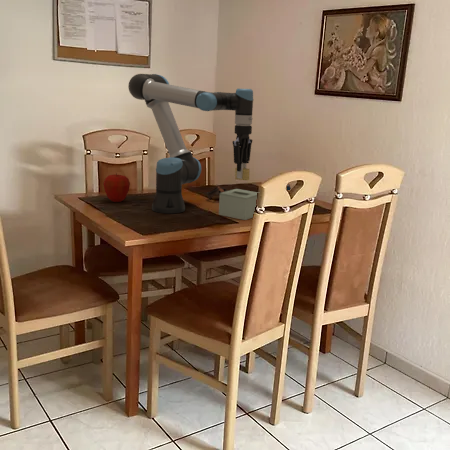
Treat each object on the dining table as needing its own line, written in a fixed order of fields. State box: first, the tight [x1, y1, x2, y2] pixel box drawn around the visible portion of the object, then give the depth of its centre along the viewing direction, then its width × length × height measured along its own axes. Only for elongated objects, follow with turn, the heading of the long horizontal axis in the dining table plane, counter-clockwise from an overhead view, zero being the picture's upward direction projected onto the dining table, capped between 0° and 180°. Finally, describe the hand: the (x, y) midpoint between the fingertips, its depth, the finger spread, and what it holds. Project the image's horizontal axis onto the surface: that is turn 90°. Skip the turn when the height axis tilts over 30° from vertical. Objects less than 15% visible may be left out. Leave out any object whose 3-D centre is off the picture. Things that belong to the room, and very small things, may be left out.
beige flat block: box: [234, 167, 250, 181], centre depth 238 cm, size 2×6×5 cm, turn 57°
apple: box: [103, 172, 131, 203], centre depth 254 cm, size 12×12×14 cm
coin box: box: [218, 188, 259, 221], centre depth 241 cm, size 14×14×10 cm
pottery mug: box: [206, 186, 228, 200], centre depth 269 cm, size 12×10×8 cm
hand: (241, 177), depth 238 cm, fingers closed on beige flat block, 2 cm apart
